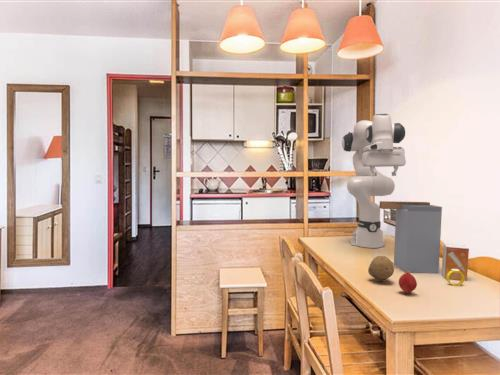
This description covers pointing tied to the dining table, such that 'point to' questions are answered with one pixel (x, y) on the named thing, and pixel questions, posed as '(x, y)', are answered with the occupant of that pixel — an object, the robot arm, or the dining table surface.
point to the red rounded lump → (407, 282)
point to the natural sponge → (381, 268)
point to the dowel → (398, 204)
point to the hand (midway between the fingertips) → (384, 176)
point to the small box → (455, 261)
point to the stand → (418, 238)
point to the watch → (457, 272)
